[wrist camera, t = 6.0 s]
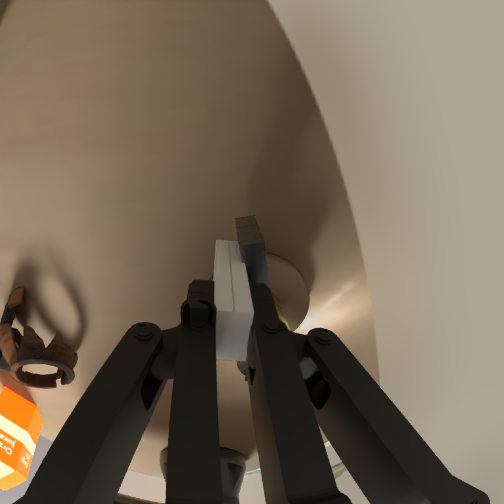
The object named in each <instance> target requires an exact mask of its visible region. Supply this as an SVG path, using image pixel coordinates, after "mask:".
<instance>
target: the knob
mask: <svg viewBox="0 0 504 504" xmlns="http://www.w3.org/2000/svg"><path fill="white" fill-rule="evenodd" d="M235 222H236V229H237V236H238V243H239V249H240V255H241V261H242V263H245V266H246V272H247V277H248V282H254V283H265V284H266V285H267V286H268V287H269V279H268V271H267V262H266V254H265V245H264V240H263V237H262V234H261V232H260V229H259V226H258V223H257V220H256V218H255V215H253V216H247V217H240V218H235ZM271 293H272V292H271ZM272 297H273V300H274V303H275V306H276V310H277V313H278V316H279V320H281V321H282V322H284V323H285V324H286V326H287V327H288V330H290V328H289V325H288V322H287V319H286V316H285V313H284V310H283V307H282V304H281V301H280V299H279V298H278V297H277V296H276V295H275V294H274V293H272ZM237 365H238V369H239V370H240V372H241V373H243V374H244V375H245V376H246V371H247V365H248V358H247V357H246V361H237Z"/></svg>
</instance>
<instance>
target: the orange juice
mask: <svg viewBox="0 0 504 504" xmlns="http://www.w3.org/2000/svg"><path fill="white" fill-rule="evenodd" d="M42 425H43V422H42V419H41V416H40V414H39V411H38V408H37V406H36V405H34V404H33V403H31V402H29V401H28V400H26V399H24V398H23V397H21V396H19V395H18V394H16V393H14V392H13V391H11V390H10V389H8V388H7V387H5V386H4V388H3V390H2V392H1V394H0V489H2V490H4V491H6V490H8V489H10V488H12V487H14V486H16V485H18V484H20V483H22V482H23V481H25V480H27V476H28V471H29V468H30V464H31V460H32V456H33V454H34V450H35V447H36V443H37V440H38V437H39V433H40V430H41V427H42Z"/></svg>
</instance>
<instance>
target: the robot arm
mask: <svg viewBox="0 0 504 504" xmlns="http://www.w3.org/2000/svg"><path fill="white" fill-rule="evenodd" d="M246 357H247V358H248V365H247V371H246V376H245V381H247V380H248V384H249V391H250V399H251V406H252V413H253V421H254V428H255V435H256V442H257V449H258V455H259V462H260V469H261V475H262V482H263V488H264V494H265V500H266V504H352V502H351V500H350V499H349V498H348V496H346V495H344V494H343V493H341V492H340V491H339V490H338V488H337V485H336V482H335V479H334V475H333V472H332V469H331V465H330V462H329V459H328V455H327V452H326V449H325V445H324V442H323V439H322V436H321V432H320V429H319V426H320V428H321V429H322V431H323V432H324V434H325V435H326V437H327V439H328V440H329V442H330V443H331V445H332V446H333V448H334V450H335V451H336V453H337V454H338V456H339V457H340V459H341V460H342V462H343V464H344V465H345V467H346V468H347V470H348V471H349V473H350V474H351V476H352V477H353V479H354V480H355V482H356V483H357V485H358V486H359V488H360V489H361V491H362V492H363V494H364V495H365V497H366V498H367V500H368V501H369V502H370V504H490V500H489V497H488V495H486V494H485V493H484V492H483V491H481V490H479V489H477V488H475V487H473V486H471V485H469V484H467V483H465V482H464V481H462V480H460V479H458V478H456V477H455V476H453V475H451V473H449V471H448V470H447V468H446V467H445V466H444V465H443V464H442V462H441V461H440V460H439V458H438V457H437V456H436V455H435V453H434V452H433V451H432V450H431V449H430V447H429V446H428V445H427V444H426V442H425V441H424V440H423V439H422V437H421V436H420V435H419V434H418V433H417V431H416V430H415V429H414V428H413V427H412V425H411V424H410V423H409V422H408V420H407V419H406V418H405V417H404V415H403V414H402V413H401V412H400V411H399V410H398V408H397V407H396V406H395V405H394V403H393V402H392V401H391V400H390V399H389V397H388V396H387V395H386V394H385V393H384V391H383V390H382V389H381V388H380V387H379V385H378V384H377V383H376V382H375V381H374V379H373V378H372V377H371V376H370V375H369V373H368V372H367V371H366V370H365V369H364V367H363V366H362V365H361V364H360V363H359V361H358V360H357V359H356V358H355V357H354V355H353V354H352V353H351V352H350V351H349V350H348V348H347V347H346V346H345V345H344V344H343V342H342V341H341V340H340V339H339V338H338V337H337V335H336V334H334V333H333V332H332V331H330V330H328V329H324V328H314V329H312V330H310V331H309V332H308V334H307V335H303V334H299V333H295V332H292V331H290V330H288V327H287V326H286V324H285V323H284V322H282V321H281V320H279V316H278V313H277V310H276V306H275V303H274V300H273V297H272V293H271V290H270V288H269V287H268V286H267V285H266V284H265V283H254V282H248V277H247V272H246V266H245V263H242V261H241V255H240V249H239V243H238V241H229V240H216V247H215V261H214V275H213V281H207V280H193V282H192V283H191V284H190V285H189V289H188V295H187V300H186V301H184V302H183V303H182V305H181V324H179V325H178V326H177V327H174V328H171V329H167V330H161V329H160V328H159V327H158V326H157V325H155V324H153V323H148V322H142V323H137V324H135V325H133V326H132V327H131V328H129V330H128V331H127V332H126V334H125V335H124V336H123V338H122V339H121V341H120V342H119V343H118V345H117V346H116V348H115V349H114V350H113V352H112V353H111V355H110V356H109V357H108V359H107V360H106V362H105V363H104V365H103V366H102V367H101V369H100V370H99V372H98V373H97V375H96V376H95V378H94V379H93V381H92V382H91V384H90V385H89V387H88V388H87V390H86V391H85V393H84V394H83V396H82V397H81V399H80V400H79V402H78V403H77V405H76V406H75V408H74V410H73V411H72V413H71V414H70V416H69V417H68V419H67V421H66V422H65V424H64V425H63V427H62V429H61V430H60V432H59V434H58V435H57V437H56V439H55V440H54V442H53V444H52V446H51V447H50V449H49V451H48V452H47V454H46V456H45V458H44V459H43V461H42V463H41V465H40V467H39V468H38V470H37V472H36V474H35V476H34V478H33V479H32V482H31V483H30V485H29V487H28V489H27V491H26V493H25V495H24V496H23V497H21V498H20V499H18V500H17V501H16V502H14V503H13V504H164V503H158V502H153V501H148V500H144V499H139V498H135V497H131V496H127V495H123V494H120V493H118V491H119V488H120V486H121V483H122V481H123V479H124V476H125V474H126V472H127V470H128V467H129V465H130V463H131V460H132V458H133V456H134V453H135V451H136V449H137V446H138V444H139V442H140V440H141V437H142V435H143V433H144V431H145V428H146V426H147V424H148V422H149V420H150V417H151V415H152V413H153V411H154V408H155V406H156V404H157V402H158V400H159V397H160V395H161V393H162V391H163V389H164V387H165V384H166V382H167V379H173V378H174V382H173V392H172V402H171V412H170V424H169V437H168V449H165V450H163V451H162V452H161V454H160V467H161V470H162V473H163V476H164V479H165V482H166V502H165V504H239V492H240V488H241V484H242V481H243V477H244V474H245V470H246V464H245V457H244V456H243V455H242V454H240V453H238V452H235V451H232V450H228V449H224V448H219V429H218V406H217V373H216V360H228V361H246ZM318 424H319V426H318Z"/></svg>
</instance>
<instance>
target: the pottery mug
mask: <svg viewBox="0 0 504 504" xmlns="http://www.w3.org/2000/svg"><path fill="white" fill-rule="evenodd" d="M24 292H25V288H24V287H21V288H18V289H16V290H14V291H13V292H12V294H10V296H9V299H8V302H7V304H6V305H5V309H4V312H3V315H2V318H1V322H0V369H3V370H4V371H10V374H11V376H12V377H13V378H14V379H15V380H16V381H18V382H19V383H21V384H23V385H26V386H28V387H34V388H43V389H49V388H56V387H57V385H56V380H57V379H60V378H61V384H62V385H65V384H69V383H71V382H72V381H73V379H74V377H75V374H74V371H73V368H74V367H75V365H76V363H77V360H78V357H77V353H76V352H74V350H73V349H72V348H71V347H70V346H68V345H66V344H65V343H64V342H63V340H62V337H61V335H60V334H59V332H56V335H55V337H54V339H53V340H52V341H51V343H50V344H49V345H48V346H47V348H46V347H45V345H44V342H43V340H42V339H41V338H40V337H39V336H38V335H37V334H36V333H35V331H34V330H33V328H31V327H29V326H26V325H25V326H24V331H23V334H24V336H22V335H21V334H20V332H19V330H18V329H16V328H11V327H12V324H13V320H14V318H15V316H16V313H15V312H14V310H13V307H15V306H17V305H20V304H22V300H23V298H22V296H23V294H24ZM28 364H47V365H51V366H55V367H58V370H57V373H54V374H47V375H40V374H33V373H30V372H27V371H25V372H24V371H22V367H23V365H28Z"/></svg>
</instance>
